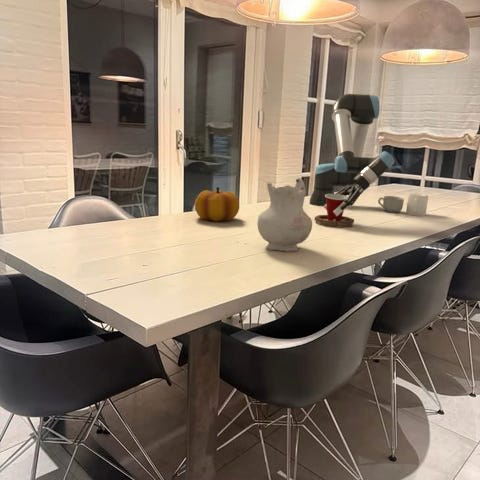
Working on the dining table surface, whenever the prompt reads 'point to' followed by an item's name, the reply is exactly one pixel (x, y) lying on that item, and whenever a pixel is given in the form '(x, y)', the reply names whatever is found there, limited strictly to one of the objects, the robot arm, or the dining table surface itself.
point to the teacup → (392, 203)
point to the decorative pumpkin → (217, 205)
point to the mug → (417, 204)
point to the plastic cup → (334, 205)
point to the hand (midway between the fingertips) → (330, 211)
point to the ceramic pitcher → (285, 218)
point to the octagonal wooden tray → (334, 222)
